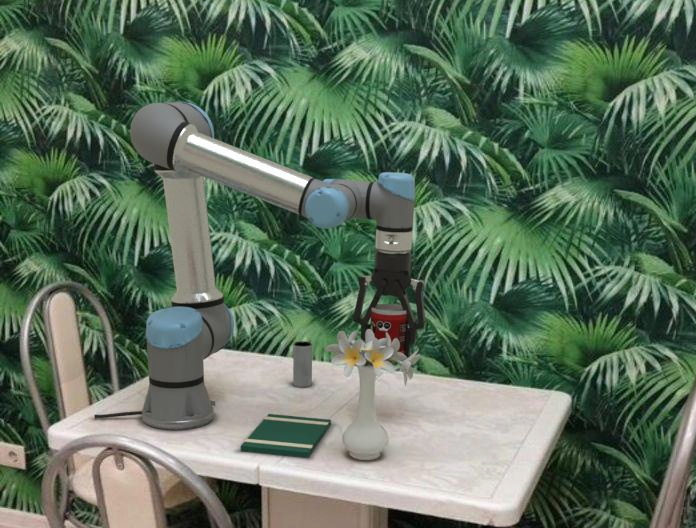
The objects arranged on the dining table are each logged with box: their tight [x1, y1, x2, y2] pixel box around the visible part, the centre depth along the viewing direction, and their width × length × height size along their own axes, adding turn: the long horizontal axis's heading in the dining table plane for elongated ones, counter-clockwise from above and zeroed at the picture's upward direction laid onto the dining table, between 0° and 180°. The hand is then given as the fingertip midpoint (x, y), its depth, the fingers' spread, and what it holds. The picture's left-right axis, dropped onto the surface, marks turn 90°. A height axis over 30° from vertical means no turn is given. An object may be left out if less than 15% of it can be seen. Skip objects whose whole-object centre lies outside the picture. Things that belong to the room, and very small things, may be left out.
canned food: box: [369, 303, 409, 363], centre depth 203 cm, size 8×8×11 cm
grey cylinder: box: [292, 341, 313, 388], centre depth 231 cm, size 4×4×10 cm
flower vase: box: [324, 329, 421, 461], centre depth 187 cm, size 13×18×25 cm
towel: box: [240, 413, 332, 459], centre depth 199 cm, size 14×20×1 cm
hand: (387, 356), depth 205 cm, fingers closed on canned food, 8 cm apart
